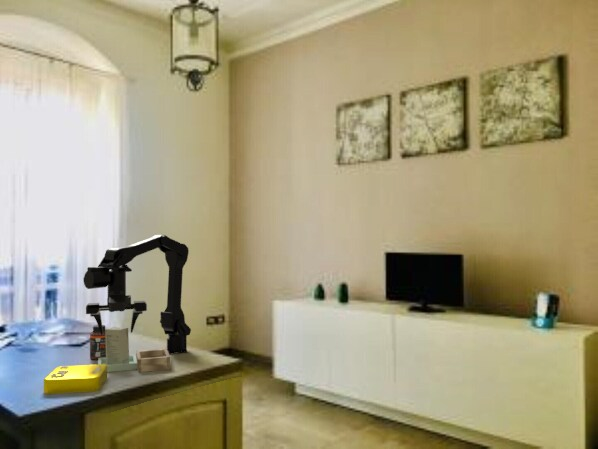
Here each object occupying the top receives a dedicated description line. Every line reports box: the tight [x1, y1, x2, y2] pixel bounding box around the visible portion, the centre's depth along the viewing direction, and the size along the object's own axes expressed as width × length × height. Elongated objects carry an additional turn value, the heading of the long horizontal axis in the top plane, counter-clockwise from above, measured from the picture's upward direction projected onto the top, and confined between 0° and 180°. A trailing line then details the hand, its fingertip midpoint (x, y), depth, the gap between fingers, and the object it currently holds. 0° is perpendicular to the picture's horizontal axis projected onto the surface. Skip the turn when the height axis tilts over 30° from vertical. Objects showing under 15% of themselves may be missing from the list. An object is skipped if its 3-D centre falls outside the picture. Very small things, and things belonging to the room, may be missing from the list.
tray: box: [97, 354, 137, 373], centre depth 175 cm, size 12×12×2 cm
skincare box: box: [105, 326, 130, 365], centre depth 175 cm, size 6×4×12 cm
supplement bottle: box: [89, 324, 106, 361], centre depth 186 cm, size 6×6×11 cm
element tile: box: [43, 363, 108, 395], centre depth 155 cm, size 15×15×5 cm
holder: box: [135, 348, 171, 373], centre depth 175 cm, size 10×12×4 cm
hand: (116, 333), depth 175 cm, fingers open, 9 cm apart
